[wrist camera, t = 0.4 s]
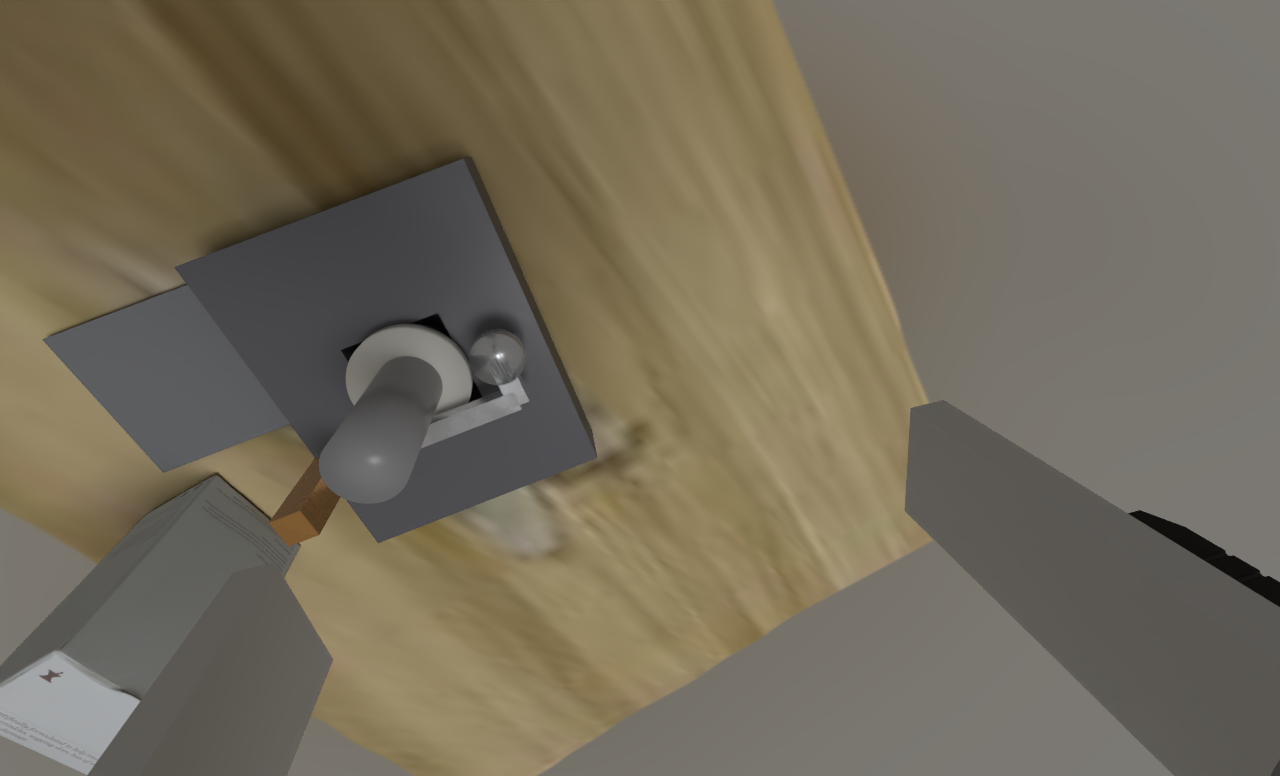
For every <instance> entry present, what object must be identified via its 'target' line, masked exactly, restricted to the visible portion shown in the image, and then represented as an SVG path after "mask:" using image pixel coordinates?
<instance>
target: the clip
mask: <svg viewBox="0 0 1280 776" xmlns="http://www.w3.org/2000/svg"><path fill="white" fill-rule="evenodd" d="M469 362H470V366H471V369H472V371H473V372H474V374H475V375H476V376H477V377H478V378H479V379H480V380H482V381H484V382H486V383H488V384H492V385H498V386H499V388H500V391H498V392H495V393H493V394H490V395H487V396H485V397H482V398H480V399H477V400H474V401H472V402H469V403H467V404H464V405H461V406H459V407H456V408H454V409H451V410H448V411H446V412H443V413H441V414H438V415H435V416H433V418H432V421H431V423H430V426H429V428H428V431H427V434H426V436H425V439H424V441H423V444H422V446H421V448H424V447H426V446H429V445H431V444H434V443H436V442H439V441H442V440H444V439H447V438H449V437H452V436H455V435H457V434H460V433H462V432H465V431H467V430H470V429H473V428H475V427H478V426H480V425H483V424H486V423H488V422H491V421H493V420H496V419H499V418H501V417H504V416H506V415H509V414H511V413H514V412H517V411H519V410H522V404H524V403H527V402H529V401H530V394H529V392H528V390H527V388H526V386H525V384H524V382H523V380H522V377H521V375H520V374H521V373H522V371H523V369H524V365H525V349H524V346H523V344H522V342H521V341H520V339H519V338H518V337H517V336H516V335H514V334H513V333H511V332H509V331H506V330H502V329H492V330H488V331H486V332H484V333H482V334H481V335H479V336H478V337H477V338H476V340H475V341H474V343H473V345H472V348H471V352H470V356H469ZM319 458H320V457H318V458H315V459H314V460H313V462H312V463H311V465H310V466H309V467H308V469H307V470H306V472H305V473H304V474H303V476H302V477H301V479H300V480H299V481H298V483H297V484H296V486H295V487H294V488H293V490H292V491H291V493H290V494H289V495H288V497H287V498H286V500H285V501H284V502H283V504H282V505H281V507H280V508H279V509H278V511H277V512H276V514H275V515H274V516H273V518H272V519H271V520H270V522H269V524H270V525H271V526H272V527H273V529H274V530H275V531H276V532H277V533H278V534H279V536H280V537H281V538H282V539H283V540H284V542H285V543H286V544H287V545H288V546H292V545H294V544H297V543H299V542H302V541H304V540H307V539H310V538H312V537H315V536H317V535H319V534H320V532H321V531H322V529H323V527H324V525H325V524H326V522H327V520H328V518H329V516H330V515H331V513H332V511H333V509H334V508H335V506H336V504H337V502H338V500H339V499H340V496H338V495H337V494H335V493H334V492H333V491H332V490H330V489H329V488H328V486H327V485H326V484H325V483H324V481H323V479H322V477H321V475H320V471H319Z"/></svg>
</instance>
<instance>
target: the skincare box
mask: <svg viewBox="0 0 1280 776" xmlns="http://www.w3.org/2000/svg"><path fill="white" fill-rule="evenodd" d="M269 522H270V520H269V519H268V518H267V517H266V516H265V515H264V514H262V513H261V512H260V511H259V510H258V509H257V508H255V507H254V506H253V505H252V504H251V503H249V502H248V501H247V500H246V499H245V498H244V497H242V496H241V495H240V494H239V493H237V492H236V491H235V490H234V489H233V488H231V487H230V486H229V485H228V484H227V483H226V482H225V481H224V480H222V479H221V478H220V477H219V476H218V475H214V476H212V477H210V478H208V479H207V480H205V481H203V482H201V483H200V484H198V485H196V486H194V487H193V488H191V489H189V490H187V491H186V492H184V493H182V494H181V495H179V496H177V497H175V498H174V499H172V500H170V501H169V502H167V503H165V504H163V505H162V506H160V507H158V508H157V509H155V510H153V511H151V512H150V513H148V514H147V515H145V516H144V517H143V518H142V519H141V520H140V521H139V522H138V524H137V525H136V526H135V527H134V528H133V529H132V530H131V531H130V532H129V533H128V534H127V535H126V536H125V537H124V538H123V539H122V540H121V541H120V542H119V543H118V544H117V545H116V546H115V547H114V548H113V549H112V550H111V551H110V552H109V553H108V554H107V555H106V557H105V558H104V559H103V560H102V561H101V562H100V563H99V564H98V565H97V566H96V567H95V568H94V569H93V570H92V571H91V572H90V573H89V574H88V575H87V576H86V578H85V579H84V580H83V581H82V582H81V583H80V584H79V585H78V586H77V587H76V588H75V589H74V590H73V591H72V592H71V593H70V594H69V595H68V596H67V597H66V598H65V599H64V600H63V601H62V602H61V603H60V605H58V606H57V608H55V609H54V611H53V612H52V613H51V614H50V615H49V616H48V617H47V618H46V619H45V620H44V621H43V622H42V623H41V624H40V625H39V626H38V627H37V628H36V629H35V630H34V631H33V632H32V633H31V634H30V635H29V636H28V638H26V639H25V641H24V642H23V643H22V644H21V645H20V646H19V647H18V648H17V649H16V650H15V651H14V652H13V653H12V654H11V655H10V656H9V657H8V658H7V659H6V660H5V661H4V663H3V664H2V665H1V666H0V735H1V736H3V737H5V738H8V739H10V740H12V741H14V742H16V743H18V744H21V745H23V746H25V747H27V748H29V749H32V750H34V751H37V752H38V753H41V754H43V755H45V756H47V757H49V758H51V759H53V760H56V761H58V762H60V763H62V764H64V765H66V766H69V767H71V768H73V769H75V770H77V771H79V772H82V773H84V774H86V775H88V773H89V772H90V771H91V769H92V768H93V767H94V765H95V764H96V762H97V761H98V760H99V758H100V757H101V755H102V754H103V753H104V751H105V750H106V748H107V747H108V746H109V744H110V743H111V741H112V740H113V739H114V737H115V736H116V734H117V733H118V732H119V730H120V729H121V727H122V726H123V725H124V723H125V722H126V721H127V719H128V718H129V716H130V715H131V714H132V712H133V711H134V709H135V708H136V707H137V705H138V704H139V702H140V701H141V700H142V698H143V697H144V695H145V694H146V693H147V691H148V690H149V688H150V687H151V686H152V684H153V683H154V681H155V680H156V679H157V677H158V676H159V675H160V673H161V672H162V670H163V669H164V668H165V666H166V665H167V663H168V662H169V661H170V659H171V658H172V656H173V655H174V654H175V652H176V651H177V649H178V648H179V647H180V645H181V644H182V642H183V641H184V640H185V638H186V637H187V635H188V634H189V633H190V631H191V630H192V629H193V627H194V626H195V624H196V623H197V622H198V620H199V619H200V617H201V616H202V615H203V613H204V612H205V610H206V609H207V608H208V606H209V605H210V603H211V602H212V601H213V599H214V598H215V596H216V595H217V594H218V592H219V591H220V589H221V588H222V587H223V585H224V584H225V583H226V581H227V580H228V578H229V577H230V576H231V574H232V573H233V572H236V571H240V570H244V569H248V568H252V567H257V566H261V565H265V564H269V563H273V562H275V564H276V566H277V567H278V569H279V571H280V572H281V574H282V576H283V577H285V575H286V573H287V571H288V570H289V568H290V566H291V564H292V562H293V560H294V558H295V556H296V554H297V552H298V550H299V549H300V547H301V546H300V545H299V544H298V543H297V544H294V545H292V546H288V545H287V544H286V543H285V542H284V540H283V539H282V538H281V537H280V536H279V534H278V533H277V532H276V531H275V530H274V529H273V527H272V526H271V525H270V524H269Z"/></svg>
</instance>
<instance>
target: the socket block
mask: <svg viewBox="0 0 1280 776" xmlns="http://www.w3.org/2000/svg"><path fill="white" fill-rule="evenodd" d="M175 269H176V270H177V271H178V273H179V274H180V275H181V277H182V278H183V279H184V281H185V282H186V284H187V285H188V286H189V288H190V289H191V290H192V292H193V293H194V294H195V296H196V297H197V298H198V300H199V301H200V303H201V304H202V305H203V307H204V308H205V309H206V311H207V312H208V313H209V315H210V316H211V317H212V319H213V320H214V321H215V323H216V324H217V326H218V327H219V328H220V330H221V331H222V332H223V334H224V335H225V336H226V338H227V339H228V340H229V342H230V343H231V344H232V346H233V347H234V349H235V350H236V351H237V353H238V354H239V355H240V357H241V358H242V359H243V361H244V362H245V363H246V365H247V366H248V368H249V369H250V370H251V372H252V373H253V374H254V376H255V377H256V378H257V380H258V381H259V382H260V384H261V385H262V386H263V388H264V389H265V391H266V392H267V393H268V395H269V396H270V397H271V399H272V400H273V401H274V403H275V404H276V405H277V407H278V408H279V410H280V411H281V412H282V414H283V415H284V416H285V418H286V419H287V420H288V422H289V423H290V424H291V426H292V427H293V428H294V430H295V431H296V433H297V434H298V435H299V437H300V438H301V439H302V441H303V442H304V443H305V445H306V446H307V447H308V449H309V450H310V451H311V453H312V454H313V456H314V457H315V458H318V457H320V455H321V452H322V451H323V449H324V447H325V446H326V445H327V443H328V442H329V440H330V439H331V438H332V436H333V435H334V433H335V432H336V431H337V429H338V428H339V426H340V425H341V423H342V422H343V421H344V419H345V418H346V416H347V415H348V414H349V412H350V411H351V409H352V408H353V407H354V405H353V403H352V401H351V400H350V397H349V395H348V391H347V387H346V370H347V366H348V363H349V360H350V358H351V356H352V355H353V353H354V351H355V350H356V349H357V348H358V347H359V346H360V344H361V343H362V342H363V341H364V340H365V339H366V338H367V337H369V336H370V335H371V334H373V333H374V332H376V331H378V330H380V329H382V328H385V327H388V326H392V325H397V324H412V323H417V322H428V323H433V324H436V325H439V326H441V327H443V328H445V329H446V330H447V331H448V333H449V335H450V336H451V338H452V340H453V341H454V342H455V343H456V344H457V345H458V346H459V347H460V349H461V350H462V351H463V352H464V354H465V356H466V357H467V359H468V361H469V356H470V352H471V348H472V345H473V343H474V341H475V340H476V338H477V337H478V336H479V335H481V334H482V333H484V332H486V331H488V330H492V329H502V330H506V331H509V332H511V333H513V334H514V335H516V336H517V337H518V338H519V339H520V341H521V342H522V344H523V346H524V349H525V365H524V369H523V371H522V373H521V374H520V375H521V377H522V380H523V382H524V384H525V386H526V388H527V390H528V392H529V394H530V401H529V402H527V403H524V404H522V410H519V411H517V412H514V413H511V414H509V415H506V416H504V417H501V418H499V419H496V420H493V421H491V422H488V423H486V424H483V425H480V426H478V427H475V428H473V429H470V430H467V431H465V432H462V433H460V434H457V435H455V436H452V437H449V438H447V439H444V440H442V441H439V442H436V443H434V444H431V445H429V446H426V447H424V448H421V449H420V452H419V454H418V457H417V459H416V462H415V464H414V467H413V470H412V472H411V475H410V477H409V480H408V482H407V484H406V486H405V487H404V489H403V490H402V491H401V492H400V493H399V494H398V495H396V496H395V497H393V498H391V499H389V500H387V501H384V502H380V503H373V504H363V503H356V502H352V501H349V500H347V502H348V503H349V504H350V506H351V507H352V508H353V510H354V511H355V512H356V514H357V515H358V516H359V518H360V519H361V521H362V522H363V523H364V525H365V526H366V527H367V529H368V530H369V531H370V533H371V534H372V535H373V537H374V538H375V540H376V541H377V542H378V543H380V542H382V541H385V540H387V539H390V538H393V537H395V536H398V535H400V534H403V533H405V532H408V531H411V530H413V529H416V528H418V527H421V526H423V525H426V524H428V523H431V522H434V521H436V520H439V519H441V518H444V517H446V516H449V515H452V514H454V513H457V512H459V511H462V510H464V509H467V508H470V507H472V506H475V505H477V504H480V503H482V502H485V501H488V500H490V499H493V498H495V497H498V496H500V495H503V494H506V493H508V492H511V491H513V490H516V489H518V488H521V487H523V486H526V485H529V484H531V483H534V482H536V481H539V480H541V479H544V478H547V477H549V476H552V475H554V474H557V473H559V472H562V471H565V470H567V469H570V468H572V467H575V466H577V465H580V464H583V463H585V462H588V461H590V460H593V459H595V458H597V453H596V448H595V443H594V438H593V433H592V429H591V427H590V425H589V422H588V420H587V418H586V416H585V413H584V411H583V409H582V407H581V404H580V402H579V400H578V397H577V395H576V393H575V391H574V388H573V386H572V384H571V382H570V379H569V377H568V375H567V373H566V370H565V368H564V366H563V363H562V361H561V359H560V357H559V354H558V352H557V350H556V348H555V345H554V343H553V341H552V339H551V336H550V334H549V332H548V329H547V327H546V325H545V323H544V320H543V318H542V316H541V314H540V311H539V309H538V307H537V305H536V302H535V300H534V298H533V295H532V293H531V291H530V289H529V286H528V284H527V282H526V280H525V277H524V275H523V273H522V271H521V268H520V266H519V264H518V261H517V259H516V257H515V255H514V252H513V250H512V248H511V246H510V243H509V241H508V239H507V237H506V234H505V232H504V230H503V227H502V225H501V223H500V221H499V218H498V216H497V214H496V212H495V209H494V207H493V205H492V203H491V200H490V198H489V196H488V193H487V191H486V189H485V187H484V184H483V182H482V180H481V178H480V175H479V173H478V171H477V169H476V166H475V164H474V162H473V159H472V157H471V158H463V159H461V160H458V161H455V162H453V163H450V164H447V165H445V166H442V167H439V168H437V169H434V170H431V171H429V172H426V173H423V174H421V175H418V176H415V177H413V178H410V179H407V180H405V181H402V182H399V183H397V184H394V185H391V186H389V187H386V188H383V189H381V190H378V191H376V192H373V193H370V194H368V195H365V196H362V197H360V198H357V199H354V200H352V201H349V202H346V203H344V204H341V205H338V206H336V207H333V208H330V209H328V210H325V211H322V212H320V213H317V214H314V215H312V216H309V217H306V218H304V219H301V220H298V221H296V222H293V223H291V224H288V225H285V226H283V227H280V228H277V229H275V230H272V231H269V232H267V233H264V234H261V235H259V236H256V237H253V238H251V239H248V240H245V241H243V242H240V243H237V244H235V245H232V246H229V247H227V248H224V249H221V250H219V251H216V252H213V253H211V254H208V255H205V256H203V257H200V258H198V259H195V260H192V261H190V262H187V263H184V264H182V265H179V266H176V267H175ZM469 364H470V362H469ZM470 367H471V366H470ZM471 370H472V369H471ZM472 376H473V387H472V393H471V396H470V400H469V402H472V401H474V400H477V399H480V398H482V397H485V396H487V395H490V394H493V393H495V392H498V391H500V388H499V386H498V385H492V384H488V383H486V382H484V381H482V380H480V379H479V378H478V377H477V376H476V375H475V374H474V372H473V371H472Z"/></svg>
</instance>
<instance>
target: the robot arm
mask: <svg viewBox="0 0 1280 776" xmlns="http://www.w3.org/2000/svg"><path fill="white" fill-rule="evenodd" d="M905 512H906V513H907V514H908V515H909V516H911V517H912V518H913V519H914V520H915V521H916V522H917V523H918V524H919V525H920V526H921V527H922V528H923V529H924V530H925V531H926V532H927V533H928V534H929V535H930V536H931V537H932V538H933V539H934V540H935V541H936V542H937V543H938V544H939V545H940V546H941V547H942V548H943V549H944V550H945V551H946V552H947V553H948V554H949V555H950V556H951V557H952V558H953V559H954V560H955V561H956V562H957V563H958V564H959V565H960V566H961V567H963V569H964V570H965V571H967V573H969V574H970V575H971V576H972V577H973V578H974V579H975V580H976V581H977V582H978V583H979V584H980V585H981V586H982V587H983V588H984V589H985V590H986V591H987V592H988V593H989V594H990V595H991V596H992V597H993V598H994V599H995V600H996V601H997V602H998V603H999V604H1000V605H1001V606H1002V607H1003V608H1004V609H1005V610H1006V611H1007V612H1008V613H1009V614H1010V615H1011V616H1012V617H1013V618H1014V619H1015V620H1016V621H1017V622H1018V623H1019V624H1020V625H1021V626H1022V627H1023V628H1024V629H1026V631H1027V632H1029V633H1030V634H1031V635H1032V636H1033V637H1034V638H1035V639H1036V640H1037V641H1038V642H1039V643H1040V644H1041V645H1042V646H1043V647H1044V648H1045V649H1046V650H1047V651H1048V652H1049V653H1050V654H1051V655H1052V656H1053V657H1054V658H1055V659H1056V660H1057V661H1058V662H1059V663H1060V664H1061V665H1062V666H1063V667H1064V668H1065V669H1066V670H1067V671H1068V672H1069V673H1070V674H1071V675H1072V676H1073V677H1074V678H1075V679H1076V680H1077V681H1078V682H1080V684H1081V685H1082V686H1083V687H1084V688H1085V689H1086V690H1088V691H1089V692H1090V693H1091V694H1092V695H1093V696H1094V697H1095V698H1096V699H1097V700H1098V701H1099V702H1100V703H1101V704H1102V705H1103V706H1104V707H1105V708H1106V709H1107V710H1108V711H1109V712H1110V713H1111V714H1112V715H1113V716H1114V717H1115V718H1116V719H1117V720H1118V721H1119V722H1120V723H1121V724H1122V725H1123V726H1124V727H1125V728H1126V729H1127V730H1128V731H1129V732H1130V733H1131V734H1132V735H1133V736H1134V737H1135V738H1136V739H1137V740H1138V741H1139V742H1141V744H1142V745H1144V747H1146V749H1148V750H1149V751H1150V752H1151V753H1152V754H1153V755H1154V756H1155V757H1156V758H1157V759H1158V760H1159V761H1160V762H1161V763H1162V764H1163V765H1164V766H1165V767H1166V768H1167V769H1168V770H1169V771H1170V772H1171V773H1172V774H1173V775H1174V776H1280V582H1278V581H1277V580H1275V579H1273V578H1272V577H1270V576H1267V577H1264V576H1262V575H1261V574H1260V571H1259V570H1258V569H1256V568H1254V567H1252V566H1251V565H1249V564H1248V563H1246V562H1244V561H1242V560H1241V559H1239V558H1237V557H1235V556H1234V555H1233V556H1228V555H1227V554H1226V552H1225V550H1224V549H1222V548H1220V547H1218V546H1217V545H1215V544H1213V543H1212V542H1210V541H1208V540H1206V539H1205V538H1203V537H1201V536H1200V535H1198V534H1196V533H1194V532H1193V531H1191V530H1189V529H1188V528H1186V527H1184V526H1181V525H1178V524H1176V523H1173V522H1170V521H1167V520H1165V519H1162V518H1159V517H1157V516H1154V515H1151V514H1149V513H1146V512H1143V511H1140V510H1139V511H1135V512H1132V513H1126V512H1124V511H1123V510H1121V509H1119V508H1118V507H1116V506H1115V505H1113V504H1111V503H1110V502H1108V501H1106V500H1105V499H1103V498H1102V497H1100V496H1098V495H1097V494H1095V493H1094V492H1092V491H1090V490H1089V489H1087V488H1086V487H1084V486H1082V485H1081V484H1079V483H1077V482H1076V481H1074V480H1073V479H1071V478H1069V477H1068V476H1066V475H1064V474H1063V473H1061V472H1059V471H1058V470H1056V469H1055V468H1053V467H1051V466H1050V465H1048V464H1047V463H1045V462H1043V461H1042V460H1040V459H1038V458H1037V457H1035V456H1034V455H1032V454H1030V453H1029V452H1027V451H1026V450H1024V449H1022V448H1021V447H1019V446H1017V445H1016V444H1014V443H1012V442H1011V441H1009V440H1008V439H1006V438H1004V437H1003V436H1001V435H1000V434H998V433H996V432H994V431H993V430H991V429H990V428H988V427H987V426H985V425H983V424H981V423H980V422H978V421H977V420H975V419H974V418H972V417H970V416H969V415H967V414H966V413H964V412H962V411H961V410H959V409H957V408H956V407H954V406H952V405H951V404H949V403H948V402H946V401H944V400H942V401H939V402H934V403H930V404H926V405H922V406H917V407H913V408H911V412H910V429H909V446H908V463H907V480H906V497H905ZM332 661H333V658H332V657H331V655H330V653H329V652H328V650H327V648H326V647H325V645H324V643H323V642H322V640H321V638H320V637H319V635H318V634H317V632H316V630H315V629H314V627H313V625H312V624H311V622H310V620H309V619H308V617H307V615H306V614H305V612H304V610H303V609H302V607H301V605H300V604H299V602H298V600H297V599H296V597H295V595H294V594H293V592H292V590H291V589H290V587H289V585H288V584H287V582H286V580H285V579H284V577H283V576H282V574H281V572H280V571H279V569H278V567H277V566H276V564H275V562H273V563H269V564H265V565H261V566H257V567H252V568H248V569H244V570H240V571H236V572H233V573H232V574H231V576H230V577H229V578H228V580H227V581H226V583H225V584H224V585H223V587H222V588H221V589H220V591H219V592H218V594H217V595H216V596H215V598H214V599H213V601H212V602H211V603H210V605H209V606H208V608H207V609H206V610H205V612H204V613H203V615H202V616H201V617H200V619H199V620H198V622H197V623H196V624H195V626H194V627H193V629H192V630H191V631H190V633H189V634H188V635H187V637H186V638H185V640H184V641H183V642H182V644H181V645H180V647H179V648H178V649H177V651H176V652H175V654H174V655H173V656H172V658H171V659H170V661H169V662H168V663H167V665H166V666H165V668H164V669H163V670H162V672H161V673H160V675H159V676H158V677H157V679H156V680H155V681H154V683H153V684H152V686H151V687H150V688H149V690H148V691H147V693H146V694H145V695H144V697H143V698H142V700H141V701H140V702H139V704H138V705H137V707H136V708H135V709H134V711H133V712H132V714H131V715H130V716H129V718H128V719H127V721H126V722H125V723H124V725H123V726H122V727H121V729H120V730H119V732H118V733H117V734H116V736H115V737H114V739H113V740H112V741H111V743H110V744H109V746H108V747H107V748H106V750H105V751H104V753H103V754H102V755H101V757H100V758H99V760H98V761H97V762H96V764H95V765H94V767H93V768H92V769H91V771H90V772H89V773H88V775H87V776H287V774H288V771H289V769H290V766H291V764H292V761H293V759H294V756H295V754H296V751H297V749H298V746H299V744H300V741H301V739H302V736H303V734H304V731H305V729H306V726H307V724H308V721H309V719H310V716H311V714H312V711H313V709H314V706H315V704H316V701H317V699H318V696H319V694H320V691H321V689H322V686H323V684H324V681H325V679H326V676H327V674H328V671H329V669H330V666H331V664H332Z"/></svg>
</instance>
